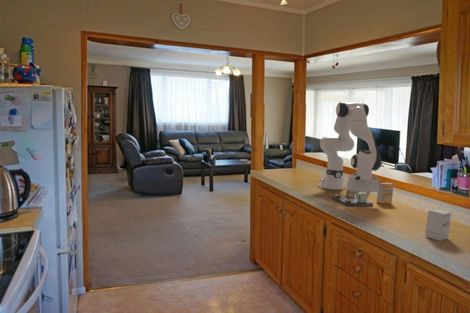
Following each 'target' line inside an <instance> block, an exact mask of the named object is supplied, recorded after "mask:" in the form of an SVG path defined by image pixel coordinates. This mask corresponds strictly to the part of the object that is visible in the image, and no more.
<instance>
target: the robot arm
mask: <svg viewBox="0 0 470 313" xmlns="http://www.w3.org/2000/svg"><path fill="white" fill-rule="evenodd" d="M369 112H370V108H369V105H367V104H366V103H363V102H362V103H361V102H356V101H355V102H354V101H352V102H351V101H342V102H341V101H340V102H339V103H338V104H337V105H336V108H335V114H336V119H335V123H334V126H333V131H334V132H335V133H336V134H337V135H338V136H333V135H329V136H323V137H322V138H321V139H320V140H319V146H320V148H321V150H322V151H323V152H324V153H325V154H326V158H327V168H326V170H325V174H324V175H323V176H322V177H321V178H320V182H319V183H318V184H317V185H318V186H319V187H320V188H321V189H326V190H334V191H335V190H336V191H341V190H344V189H346V191H347V190H348V191H350V192H355V196H356V198H357V199H360V196H359V195H358V193H365V194H367V200H368V198H369V196H370V194H371V192H372V193H375V192H376V193H377V192H378V190H379V183H380V178H378V177H377V176H372V174H373V171H374V172H375V171H378V170H379V169H380V168H381V167H382V165H383V164H382V158H381V155H380V152H379V150H378V145H377V141H376V138H375V137H376V136H375V134H374V132H373V131H372V130H371V129H370V128H369V125H368V119H367V117H368V116H369ZM350 133H351V134H352V135H353V137H355V138H358V139H361V140H363V141H365V142H366V143H367V146H368V149H360V150H359V152H358V153H356V154H354V155H352V156H351V159H350V166H351V167H352V168H353V169H356V172H354V173H352V174H349V175H348V180H347V182H346V186H345V177H344V170H343V169H344V168H343V167H344V159H343V158H342V157H341V156H339V154H338V152H351V151H352V150H353V149H354V147H355V141H354V139H353V138H352V137H351V136H350Z"/></svg>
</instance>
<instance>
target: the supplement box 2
mask: <svg viewBox="0 0 470 313" xmlns="http://www.w3.org/2000/svg"><path fill="white" fill-rule="evenodd" d="M451 217H452V212H451V211H447V210H441V209H437V208H436V209H430V210H428V211H427V217H426V218H427V220H426V226H425V227H426V228H425V238H428V237H429V239H431V238H432V240H435V239H436V241H438V240H439V242H441V241H445V240H448V239H449V234H450V227H451V220H452V219H451Z"/></svg>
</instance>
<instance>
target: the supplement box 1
mask: <svg viewBox="0 0 470 313" xmlns="http://www.w3.org/2000/svg"><path fill="white" fill-rule="evenodd" d="M394 185H395V184H394V183H391V182H379V190H378V192H376V195H377V196H376V203H378V204H381V205H385V204H387V205H389V204H390V205H392V203H393V202H392V201H393V193H394Z"/></svg>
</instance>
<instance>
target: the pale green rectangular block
mask: <svg viewBox="0 0 470 313" xmlns="http://www.w3.org/2000/svg"><path fill="white" fill-rule="evenodd" d="M358 195H359V196H360V199H357V201H359V202H366V201H368V199H367V193H366V192H359V193H358Z"/></svg>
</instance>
